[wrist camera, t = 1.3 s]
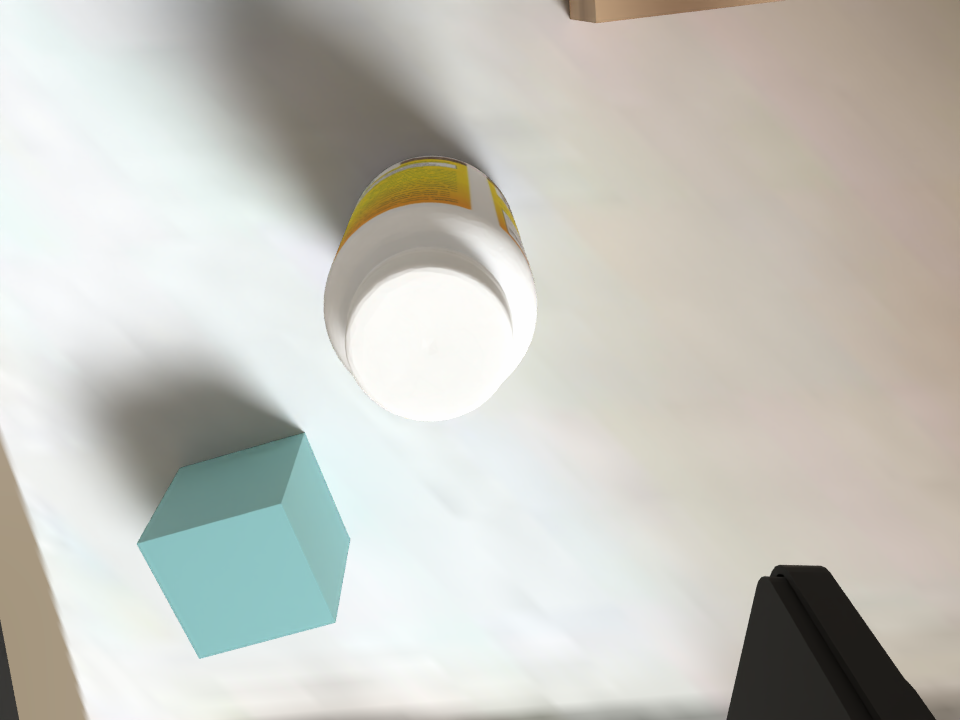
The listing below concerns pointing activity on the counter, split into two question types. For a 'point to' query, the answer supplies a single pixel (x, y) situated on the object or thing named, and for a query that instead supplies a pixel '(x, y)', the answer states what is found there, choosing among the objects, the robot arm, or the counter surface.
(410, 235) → the supplement bottle
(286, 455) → the teal block
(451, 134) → the counter surface
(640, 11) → the walnut block
